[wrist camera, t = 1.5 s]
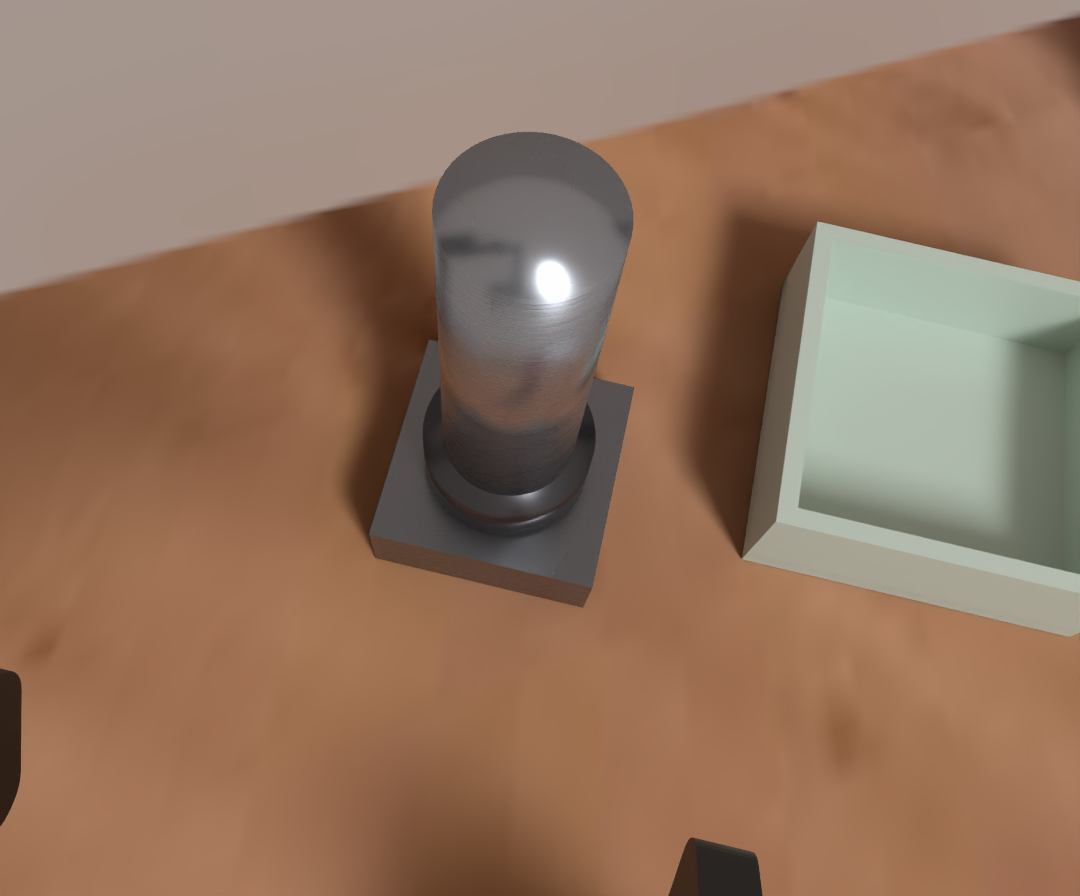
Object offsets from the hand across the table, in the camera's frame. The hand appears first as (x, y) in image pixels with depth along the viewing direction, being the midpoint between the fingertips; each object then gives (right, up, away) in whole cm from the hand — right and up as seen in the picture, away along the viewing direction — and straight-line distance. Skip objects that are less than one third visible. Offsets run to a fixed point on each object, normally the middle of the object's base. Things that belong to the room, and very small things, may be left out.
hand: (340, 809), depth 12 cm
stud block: (+1, +3, +22) cm, 23 cm away
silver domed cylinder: (+1, +4, +20) cm, 21 cm away
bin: (+16, +4, +24) cm, 29 cm away
